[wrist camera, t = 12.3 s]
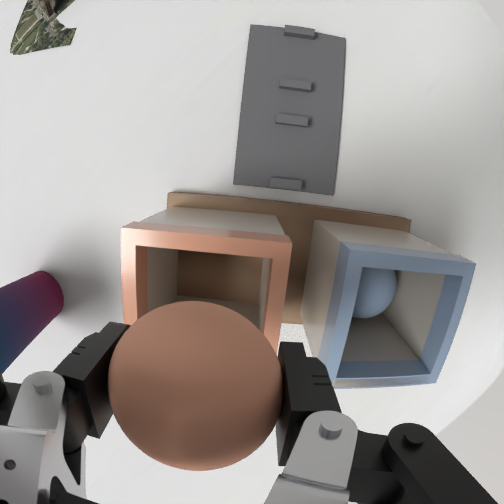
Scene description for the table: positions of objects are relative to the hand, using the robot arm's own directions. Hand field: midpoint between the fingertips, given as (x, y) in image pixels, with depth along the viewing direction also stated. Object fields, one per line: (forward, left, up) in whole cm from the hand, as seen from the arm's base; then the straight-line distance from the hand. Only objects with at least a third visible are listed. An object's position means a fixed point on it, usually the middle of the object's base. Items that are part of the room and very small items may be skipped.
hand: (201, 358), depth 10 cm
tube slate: (+1, +10, -15) cm, 18 cm away
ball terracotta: (0, 0, -1) cm, 1 cm away
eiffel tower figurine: (-26, -22, -17) cm, 38 cm away
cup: (+7, -19, -17) cm, 26 cm away
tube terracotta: (+1, -1, -15) cm, 15 cm away
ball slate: (+1, +10, -15) cm, 18 cm away
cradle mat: (-12, +4, -16) cm, 21 cm away
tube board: (+1, +5, -16) cm, 17 cm away
